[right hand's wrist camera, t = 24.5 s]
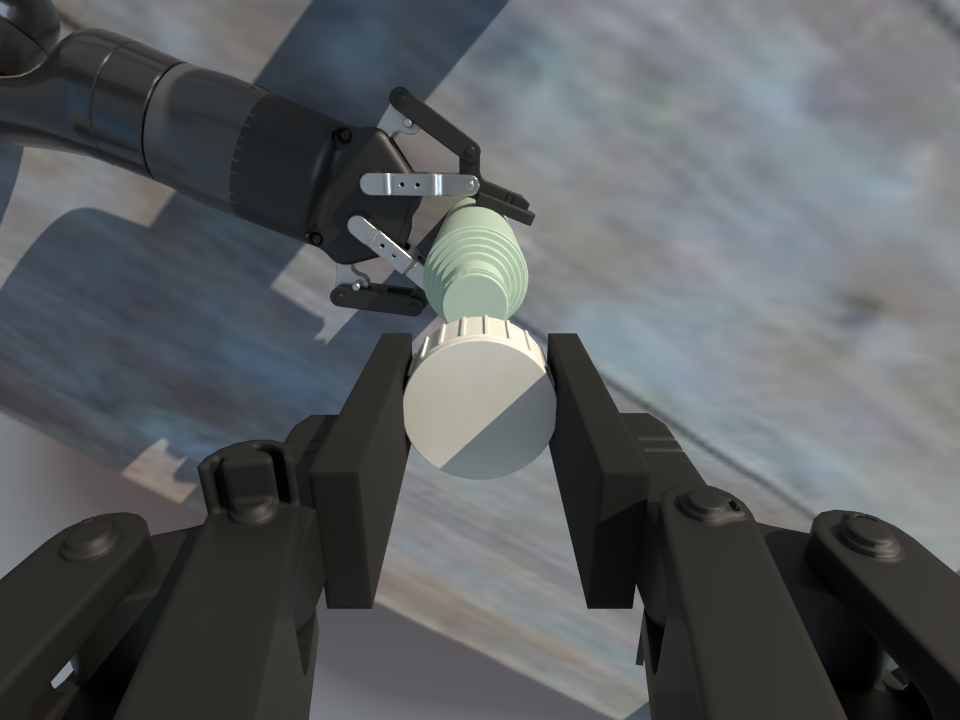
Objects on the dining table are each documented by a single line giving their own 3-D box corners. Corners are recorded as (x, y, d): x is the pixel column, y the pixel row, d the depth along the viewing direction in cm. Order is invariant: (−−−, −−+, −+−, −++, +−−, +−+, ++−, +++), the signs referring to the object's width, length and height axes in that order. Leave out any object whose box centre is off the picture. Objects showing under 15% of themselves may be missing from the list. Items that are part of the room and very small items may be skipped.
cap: (530, 295, 13) (538, 317, 12) (565, 424, 15) (576, 460, 13) (389, 336, 14) (376, 363, 12) (435, 457, 15) (429, 497, 13)
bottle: (521, 239, 40) (562, 322, 20) (467, 275, 41) (459, 387, 21) (484, 182, 38) (492, 215, 19) (430, 221, 39) (385, 290, 20)
